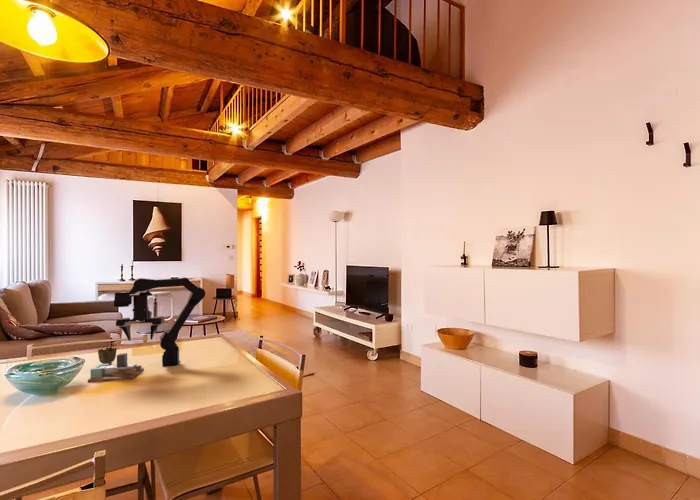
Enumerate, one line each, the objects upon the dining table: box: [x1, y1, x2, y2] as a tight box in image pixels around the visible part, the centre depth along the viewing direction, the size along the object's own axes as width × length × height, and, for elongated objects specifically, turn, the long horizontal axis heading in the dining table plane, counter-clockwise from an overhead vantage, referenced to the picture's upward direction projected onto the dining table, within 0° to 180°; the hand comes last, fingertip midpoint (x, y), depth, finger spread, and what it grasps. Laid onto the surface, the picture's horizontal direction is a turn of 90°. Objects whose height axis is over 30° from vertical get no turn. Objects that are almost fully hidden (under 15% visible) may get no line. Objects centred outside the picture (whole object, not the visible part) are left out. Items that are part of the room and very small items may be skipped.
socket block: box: [90, 363, 109, 378], centre depth 159 cm, size 4×8×4 cm, turn 11°
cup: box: [97, 346, 118, 366], centre depth 175 cm, size 8×7×8 cm
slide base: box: [87, 364, 145, 383], centre depth 160 cm, size 17×13×3 cm
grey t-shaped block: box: [99, 352, 137, 375], centre depth 160 cm, size 14×4×8 cm, turn 101°
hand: (140, 340), depth 170 cm, fingers open, 9 cm apart
